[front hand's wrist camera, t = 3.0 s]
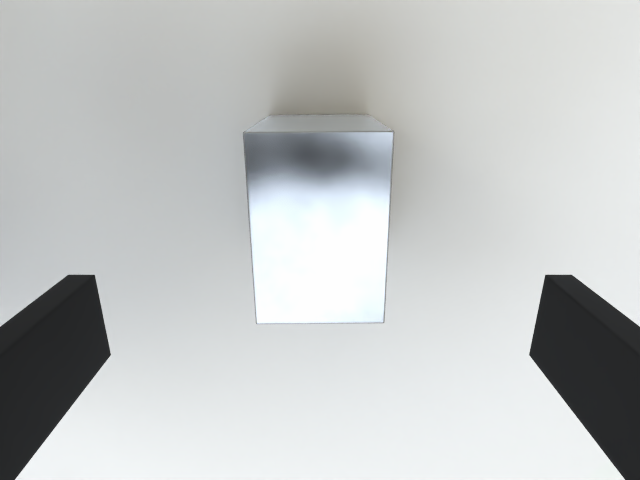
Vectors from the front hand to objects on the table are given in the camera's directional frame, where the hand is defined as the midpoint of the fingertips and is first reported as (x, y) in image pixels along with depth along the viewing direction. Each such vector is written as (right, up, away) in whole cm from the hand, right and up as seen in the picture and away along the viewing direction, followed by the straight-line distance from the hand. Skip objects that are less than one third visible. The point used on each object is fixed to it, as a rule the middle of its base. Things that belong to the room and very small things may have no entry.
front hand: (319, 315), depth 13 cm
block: (0, +6, +15) cm, 16 cm away
